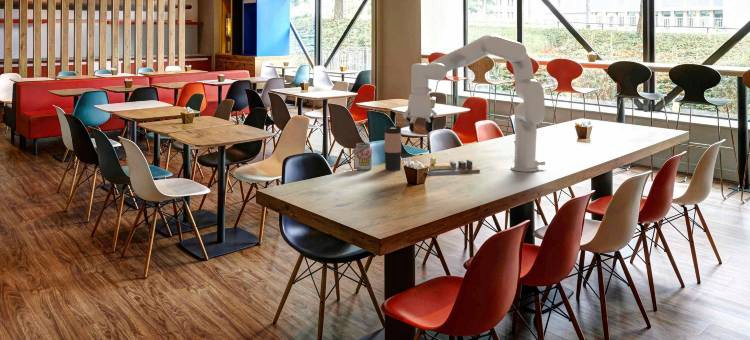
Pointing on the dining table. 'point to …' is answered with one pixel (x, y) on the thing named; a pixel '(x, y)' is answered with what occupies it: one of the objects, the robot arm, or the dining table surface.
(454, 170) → the door plate
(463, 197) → the dining table surface
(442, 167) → the bolt
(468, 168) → the jamb keeper
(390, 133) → the travel mug
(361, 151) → the glass jar
